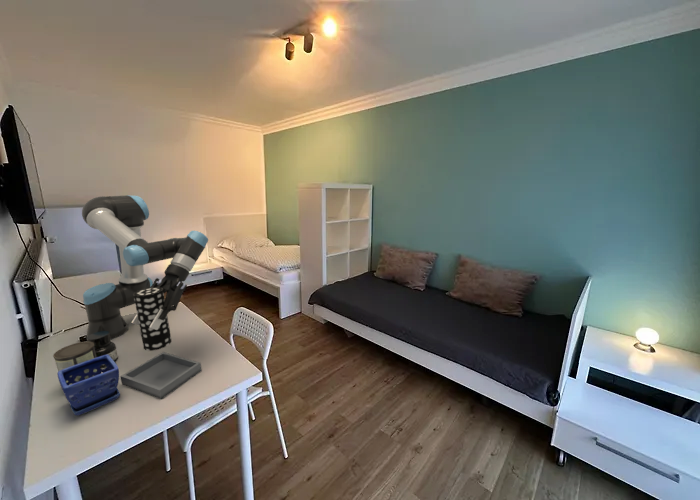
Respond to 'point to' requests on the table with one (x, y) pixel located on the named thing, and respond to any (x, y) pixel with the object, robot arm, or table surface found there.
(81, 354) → the coffee can
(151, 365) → the tray
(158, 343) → the white-spotted black cylinder
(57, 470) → the table surface
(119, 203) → the robot arm
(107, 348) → the ink bottle
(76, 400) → the flower pot
